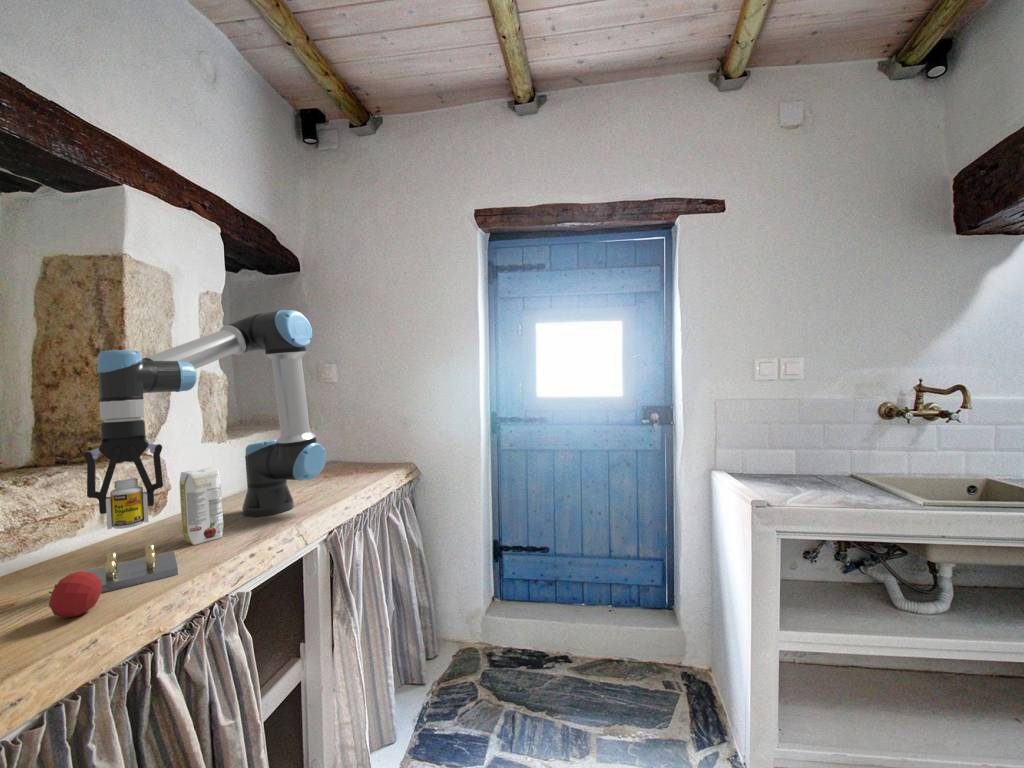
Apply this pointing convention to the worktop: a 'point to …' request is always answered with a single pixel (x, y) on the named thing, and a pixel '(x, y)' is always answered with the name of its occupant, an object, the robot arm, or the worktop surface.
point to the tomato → (75, 594)
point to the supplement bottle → (127, 504)
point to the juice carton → (201, 505)
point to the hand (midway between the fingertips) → (128, 524)
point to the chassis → (135, 570)
